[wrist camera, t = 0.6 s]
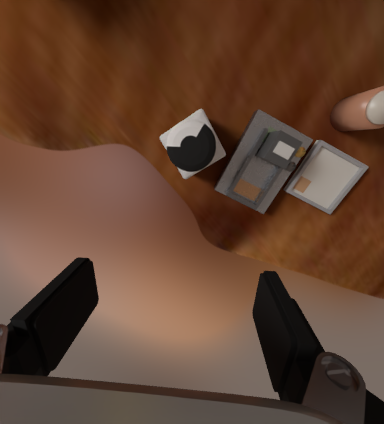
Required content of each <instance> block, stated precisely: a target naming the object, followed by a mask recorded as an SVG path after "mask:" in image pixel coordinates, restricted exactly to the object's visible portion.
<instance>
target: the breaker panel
mask: <svg viewBox="0 0 384 424" xmlns="http://www.w3.org/2000/svg"><path fill="white" fill-rule="evenodd" d="M280 130H281V131H283V132H285V133H287V134H289V135H290V136H292V137H294V138H296V139H298V140H299V141H301V142H303V143H302V145H301V146H300V148H299V149H298V151H297V152H296V154H295V155H294V157H293V158H292V160H291V161H290V163H289V164H288V166H287V168H286V169H283V168H280V167H277V166H274V165H272V164H270V163H268V162H266V161H265V160H263V159H261V158H259V157H257V156H256V155H257V153H258V152H259V150H260V148H261V147H262V145H263V143H264V141H265V140H266V138H267V136H268V135H269V133H270V132H273V131H280ZM312 141H313V139H311V138H309V137H307V136H305V135H304V134H302V133H300V132H298V131H297V130H295V129H293V128H291V127H289V126H288V125H286V124H284V123H282V122H280V121H279V120H277V119H275V118H273V117H272V116H270V115H268V114H266V113H264V112H263V111H261V110H259V109H258V110H256V111H255V112H254V113H253V115H252V117H251V119H250V121H249V123H248V125H247V126H246V128H245V130H244V132H243V134H242V136H241V138H240V139H239V141H238V143H237V145H236V147H235V149H234V151H233V152H232V154H231V156H230V158H229V160H228V162H227V163H226V165H225V167H224V169H223V171H222V173H221V175H220V176H219V178H218V180H217V182H216V184H215V186H214V189H215V190H216V191H218V192H220V193H222V194H224V195H226V196H228V197H230V198H232V199H234V200H236V201H238V202H240V203H242V204H244V205H246V206H248V207H250V208H252V209H254V210H257V211H259V212H261V213H263V214H264V212H265V211H266V210H267V208H268V207H269V205H270V204H271V202H272V201H273V199H274V198H275V196H276V195H277V193H278V192H279V190H280V189H281V187H282V186H283V184H284V183H285V181H286V180H287V178H288V177H289V175H290V174H291V172H292V171H293V170H295V168H296V165H297V163H298V162H299V160H300V159H301V157H303V156H304V155H305V153H306V150H307V148H308V147H309V146H310V144H311V143H312Z"/></svg>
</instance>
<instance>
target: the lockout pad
mask: <svg viewBox="0 0 384 424" xmlns="http://www.w3.org/2000/svg"><path fill="white" fill-rule="evenodd" d="M367 168H368V166H366V165H365V164H363V163H361V162H359V161H358V160H356V159H354V158H352V157H350V156H349V155H347V154H345V153H343V152H342V151H340V150H338V149H336V148H334V147H333V146H331V145H329V144H327V143H326V142H324V141H322V140H316V142H315V143H314V145H313V146H312V148H311V149H310V151H309V152H308V154H307V155H306V157H305V158H304V160H303V161H302V163H301V164H300V166H299V167H298V169H297V170H296V171H295V173H294V174H293V176H292V177H291V179H290V180H289V182H288V183H287V185H286V186H285V188H284V189H283V190H284V191H286V192H288V193H290V194H292V195H294V196H295V197H297V198H299V199H301V200H303V201H305V202H307V203H309V204H311V205H313V206H315V207H317V208H319V209H321V210H322V211H324V212H326V213H328V214H331V213H332V212H333V210H334V209H335V208H336V207H337V206H338V204H339V203H340V202H341V201H342V199H343V198H344V197H345V196H346V194H347V193H348V192H349V191H350V189H351V188H352V187H353V186H354V185H355V183H356V182H357V181H358V180H359V178H360V177H361V176H362V175H363V173H364V172H365V171H366V170H367Z"/></svg>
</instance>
